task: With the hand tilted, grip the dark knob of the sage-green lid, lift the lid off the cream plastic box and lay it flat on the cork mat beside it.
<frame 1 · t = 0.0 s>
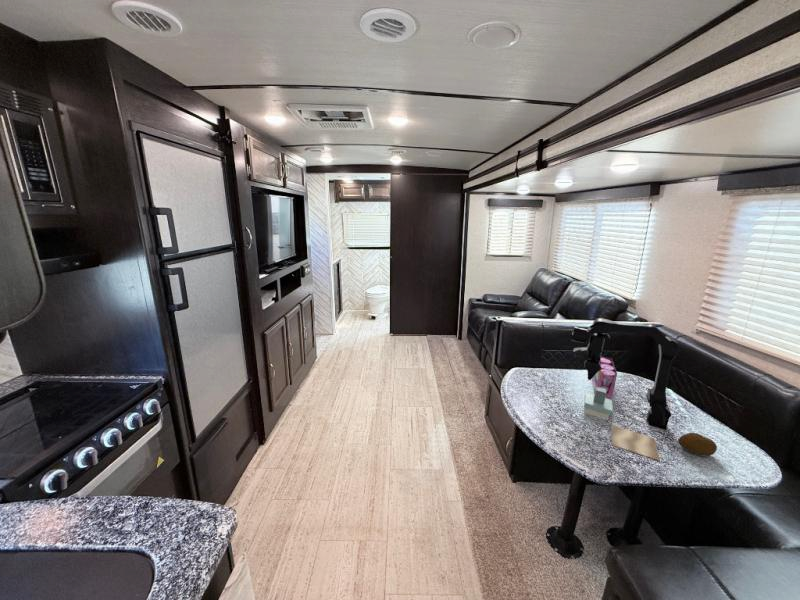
hand: (589, 375, 149), 15 cm above the table, tool pointing down, fingers open, 9 cm apart
box: (596, 411, 146), on the table
cork mat: (633, 442, 126), on the table
lid: (597, 406, 145), point 3 cm above the table, touching box
gum box: (600, 387, 169), on the table
potato: (694, 452, 122), on the table
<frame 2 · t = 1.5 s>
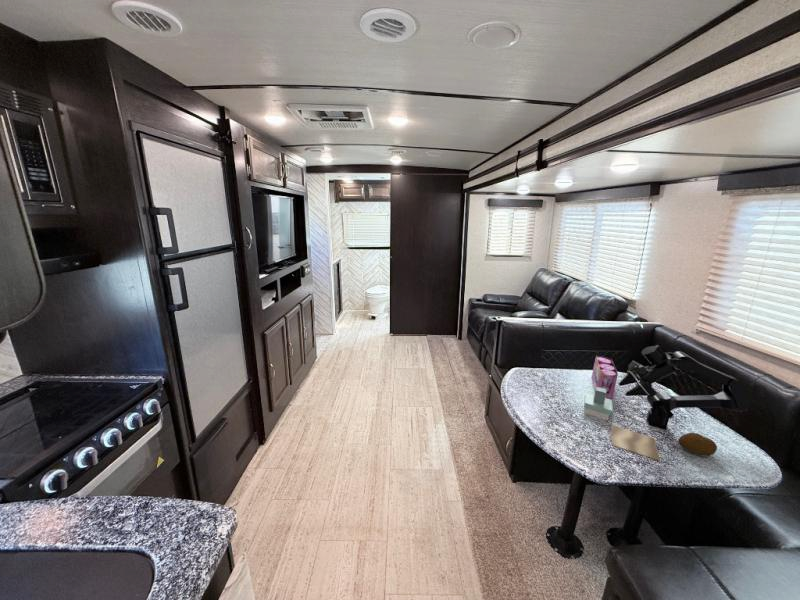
hand: (622, 389, 140), 13 cm above the table, tool tilted 45°, fingers open, 9 cm apart
nothing on the table moved.
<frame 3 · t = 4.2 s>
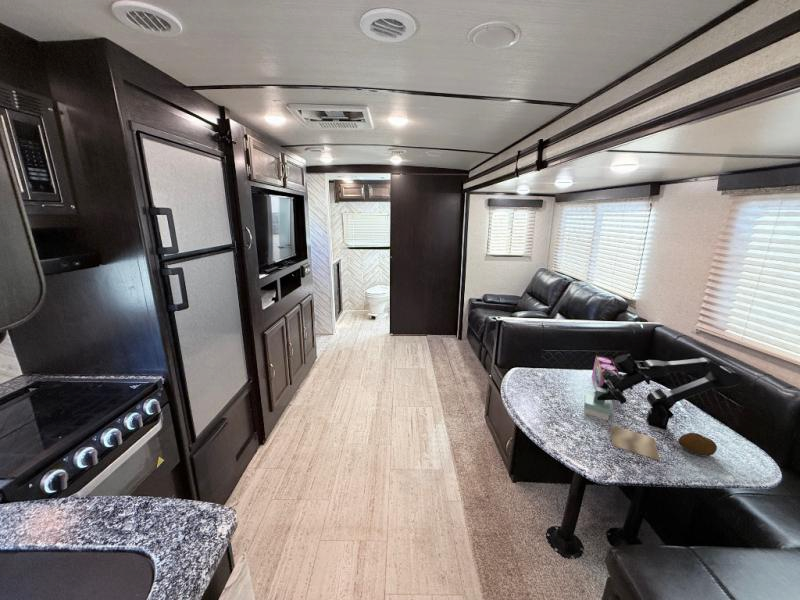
hand: (596, 396, 144), 8 cm above the table, tool tilted 45°, fingers closed on lid, 5 cm apart
lid: (597, 406, 145), point 3 cm above the table, touching box, gripper
everything else where it was.
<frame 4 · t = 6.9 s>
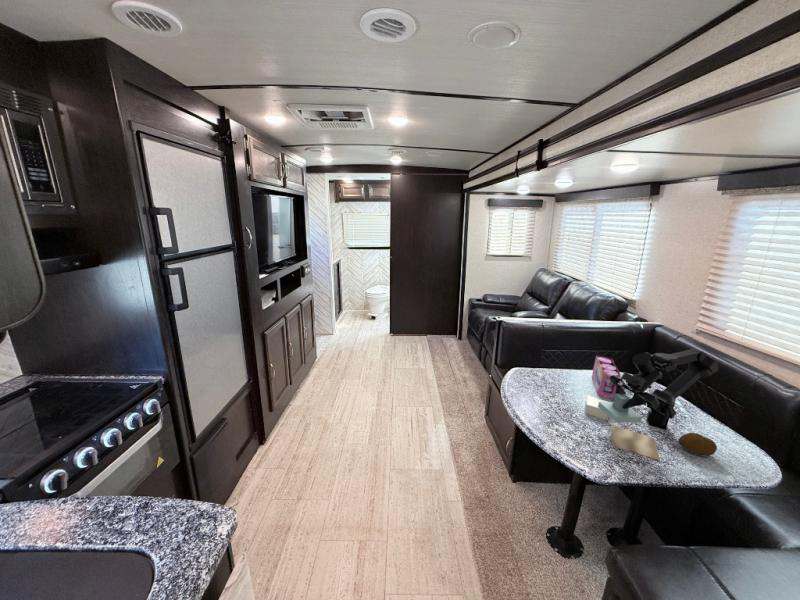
hand: (618, 404, 129), 12 cm above the table, tool tilted 45°, fingers closed on lid, 5 cm apart
lid: (618, 414, 130), point 8 cm above the table, touching gripper
everything else where it was.
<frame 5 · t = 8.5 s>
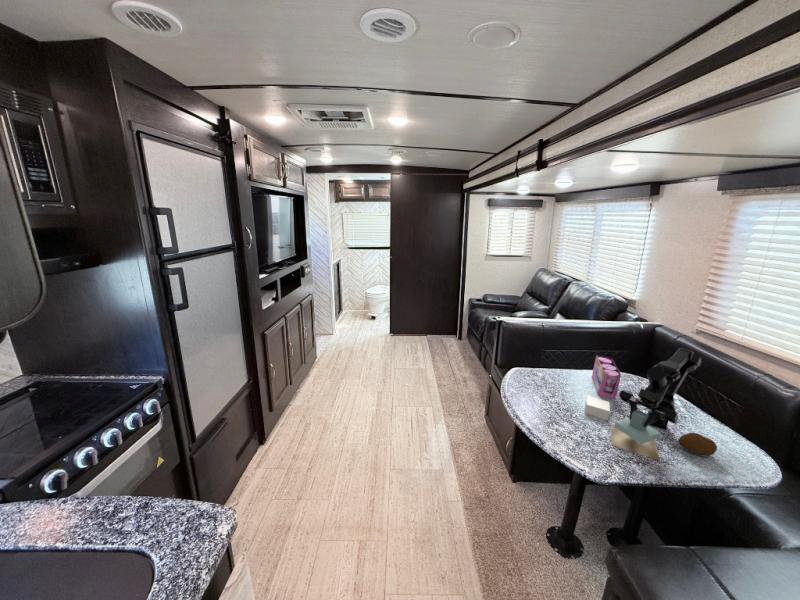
hand: (637, 423, 123), 9 cm above the table, tool tilted 45°, fingers closed on lid, 5 cm apart
lid: (636, 432, 125), point 5 cm above the table, touching gripper
when the fingers open (6 cm above the table, at t = 9.8 s): lid drops 2 cm, resting on cork mat.
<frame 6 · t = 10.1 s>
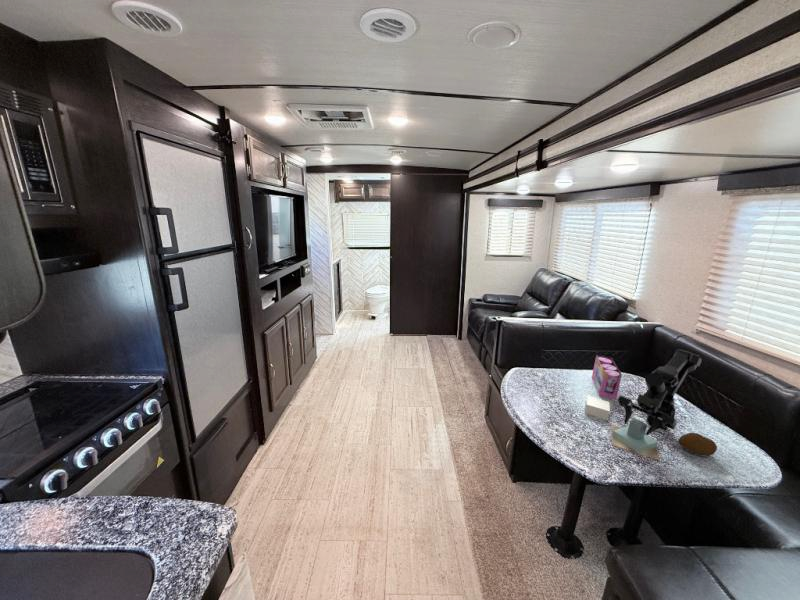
hand: (635, 429, 123), 7 cm above the table, tool tilted 45°, fingers open, 7 cm apart
lid: (633, 441, 126), resting on cork mat
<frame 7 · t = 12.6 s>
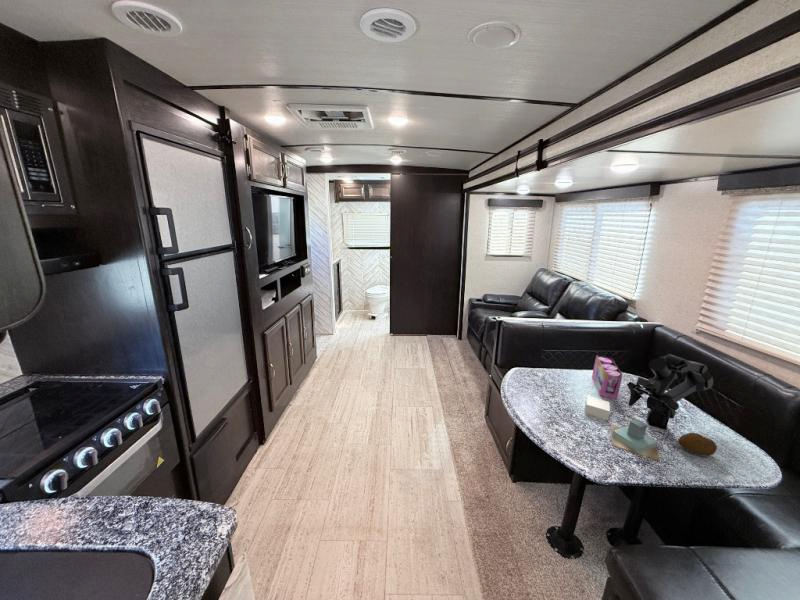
hand: (639, 410, 131), 10 cm above the table, tool tilted 40°, fingers open, 9 cm apart
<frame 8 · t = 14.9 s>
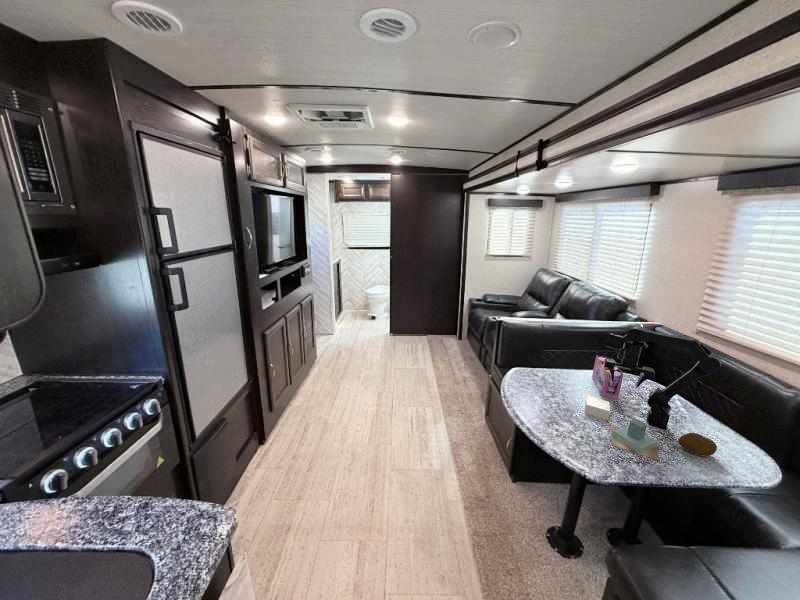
hand: (624, 384, 145), 13 cm above the table, tool pointing down, fingers open, 9 cm apart
at the end: lid inside the target area on the cork mat (0.1 cm from its centre), point 0.4 cm above the cork mat's base; lid tilted 0°; the gripper is holding nothing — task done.
